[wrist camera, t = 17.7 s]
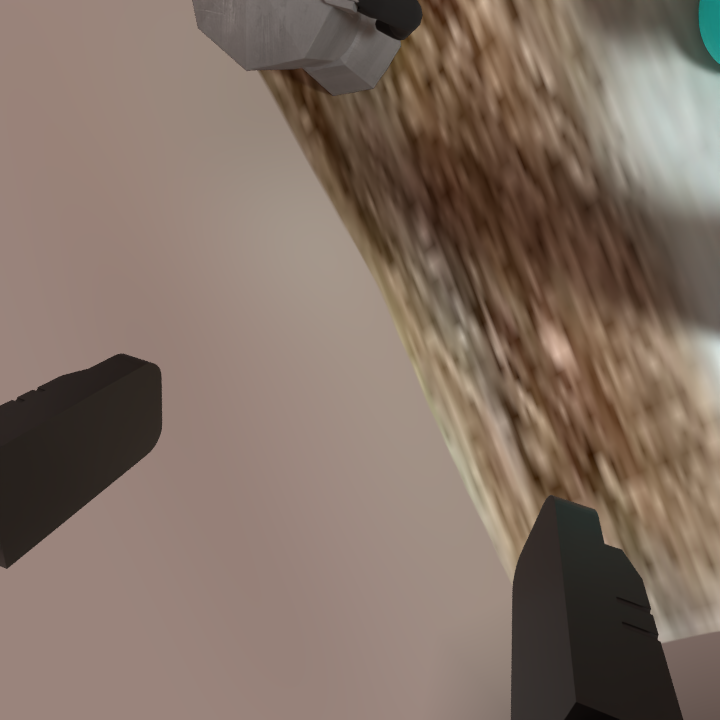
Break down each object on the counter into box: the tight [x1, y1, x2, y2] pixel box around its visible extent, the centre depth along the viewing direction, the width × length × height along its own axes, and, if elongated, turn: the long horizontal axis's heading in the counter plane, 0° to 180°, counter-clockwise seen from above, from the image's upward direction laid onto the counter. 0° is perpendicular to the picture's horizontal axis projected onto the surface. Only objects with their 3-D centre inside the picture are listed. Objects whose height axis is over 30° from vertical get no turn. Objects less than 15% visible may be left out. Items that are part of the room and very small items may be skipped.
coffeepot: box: [192, 0, 422, 96], centre depth 30 cm, size 15×9×18 cm, turn 75°
